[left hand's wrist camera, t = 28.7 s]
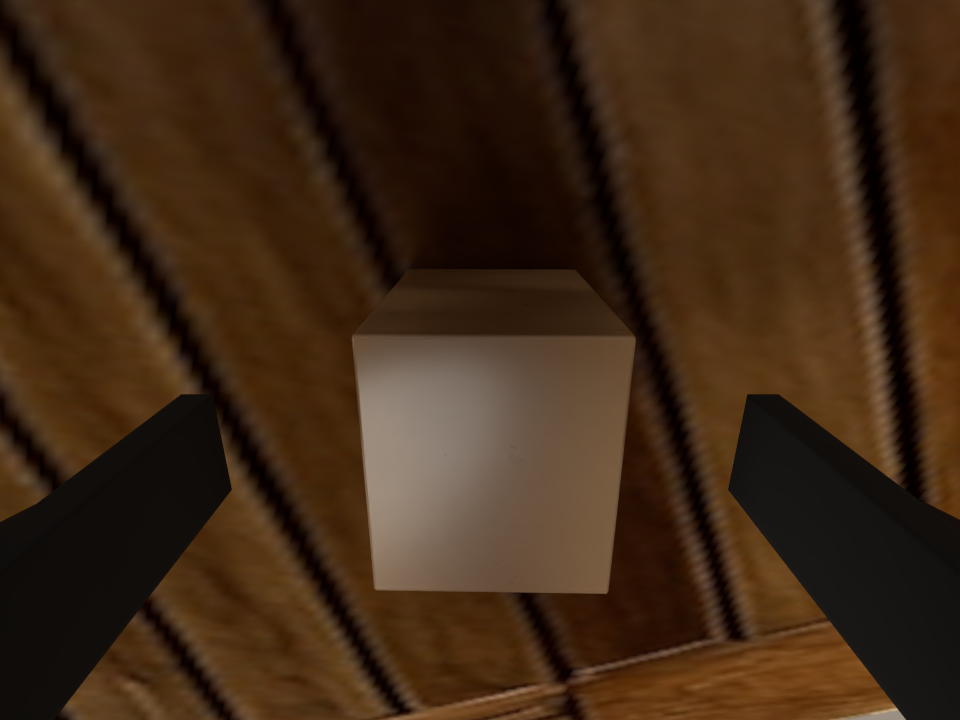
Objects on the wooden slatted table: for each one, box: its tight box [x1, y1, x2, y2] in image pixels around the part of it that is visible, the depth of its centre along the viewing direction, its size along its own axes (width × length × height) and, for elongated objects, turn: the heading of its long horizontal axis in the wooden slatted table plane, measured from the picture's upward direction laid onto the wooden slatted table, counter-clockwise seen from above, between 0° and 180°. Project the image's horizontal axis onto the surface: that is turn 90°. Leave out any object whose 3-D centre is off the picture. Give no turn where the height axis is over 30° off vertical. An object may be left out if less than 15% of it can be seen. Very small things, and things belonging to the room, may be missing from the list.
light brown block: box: [352, 269, 636, 594], centre depth 16 cm, size 6×7×8 cm
